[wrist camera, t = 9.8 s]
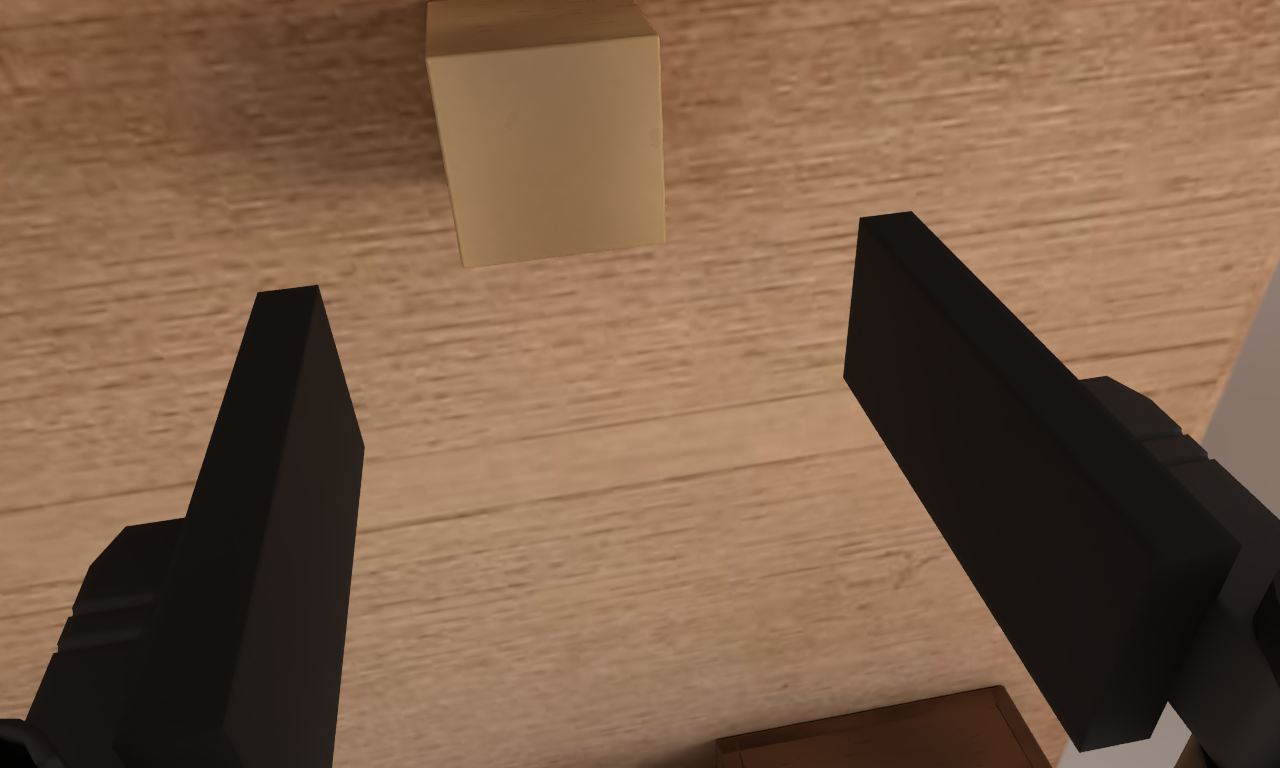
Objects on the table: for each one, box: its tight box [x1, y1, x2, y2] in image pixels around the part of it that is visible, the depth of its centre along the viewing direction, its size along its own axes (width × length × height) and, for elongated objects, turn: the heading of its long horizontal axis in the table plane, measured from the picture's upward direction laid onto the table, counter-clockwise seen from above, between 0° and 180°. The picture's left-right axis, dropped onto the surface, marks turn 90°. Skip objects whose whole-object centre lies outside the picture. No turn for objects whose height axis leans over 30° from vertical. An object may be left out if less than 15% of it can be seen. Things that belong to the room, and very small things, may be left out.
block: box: [425, 0, 666, 268], centre depth 20 cm, size 4×4×4 cm
